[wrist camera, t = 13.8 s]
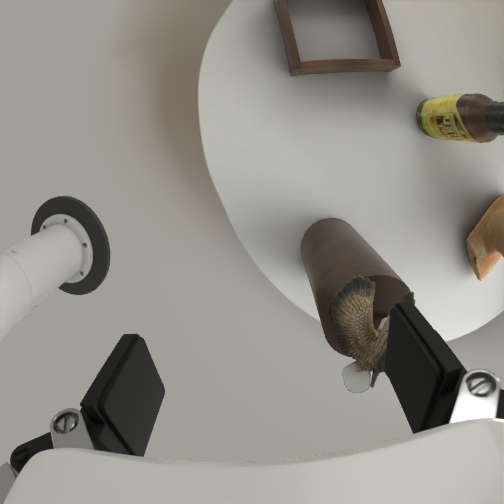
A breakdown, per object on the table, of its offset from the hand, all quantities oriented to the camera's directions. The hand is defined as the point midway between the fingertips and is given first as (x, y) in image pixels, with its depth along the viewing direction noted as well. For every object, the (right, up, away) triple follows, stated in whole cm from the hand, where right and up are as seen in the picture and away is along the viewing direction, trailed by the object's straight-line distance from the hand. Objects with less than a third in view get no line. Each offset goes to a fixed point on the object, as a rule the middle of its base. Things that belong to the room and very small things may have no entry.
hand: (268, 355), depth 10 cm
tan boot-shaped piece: (+42, +8, +31) cm, 53 cm away
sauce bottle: (+27, +24, +26) cm, 44 cm away
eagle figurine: (+10, -2, +15) cm, 18 cm away
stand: (+11, +4, +34) cm, 36 cm away
